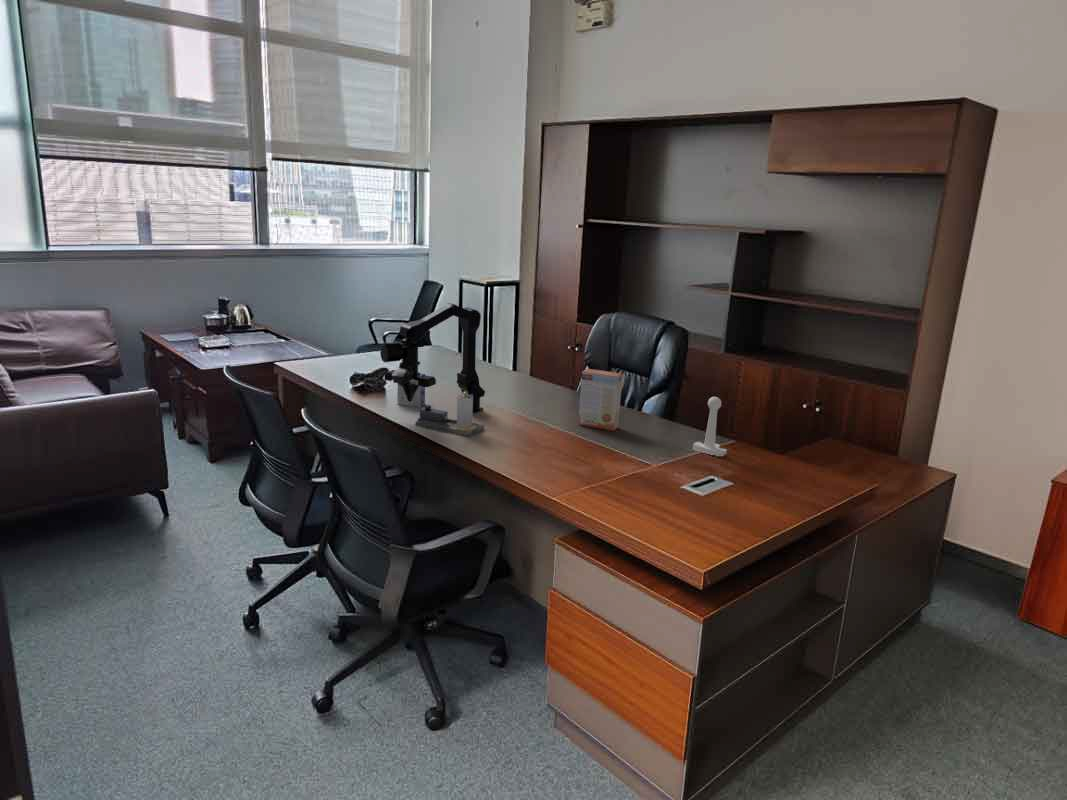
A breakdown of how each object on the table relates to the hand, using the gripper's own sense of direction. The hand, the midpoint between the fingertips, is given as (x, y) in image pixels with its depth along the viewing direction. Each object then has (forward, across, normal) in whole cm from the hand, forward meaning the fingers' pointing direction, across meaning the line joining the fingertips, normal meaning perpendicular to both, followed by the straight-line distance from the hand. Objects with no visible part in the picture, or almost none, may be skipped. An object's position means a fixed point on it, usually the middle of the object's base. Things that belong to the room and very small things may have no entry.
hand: (409, 401), depth 268 cm
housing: (+6, +23, 0) cm, 23 cm away
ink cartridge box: (+7, -11, +18) cm, 22 cm away
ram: (+5, +10, 0) cm, 12 cm away
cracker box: (+8, +62, +32) cm, 70 cm away
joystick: (+8, +105, +26) cm, 108 cm away
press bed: (+7, +17, 0) cm, 18 cm away
